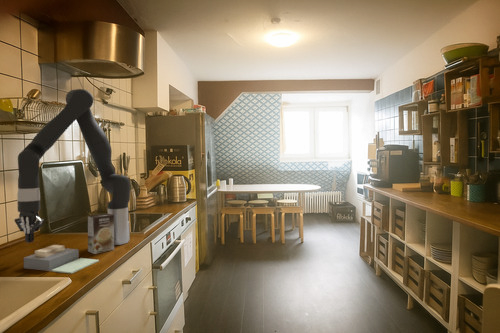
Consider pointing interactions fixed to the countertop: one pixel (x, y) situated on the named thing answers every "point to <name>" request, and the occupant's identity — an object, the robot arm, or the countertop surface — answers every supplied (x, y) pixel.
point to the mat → (75, 265)
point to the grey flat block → (51, 260)
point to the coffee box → (100, 233)
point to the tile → (49, 250)
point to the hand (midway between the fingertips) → (29, 242)
